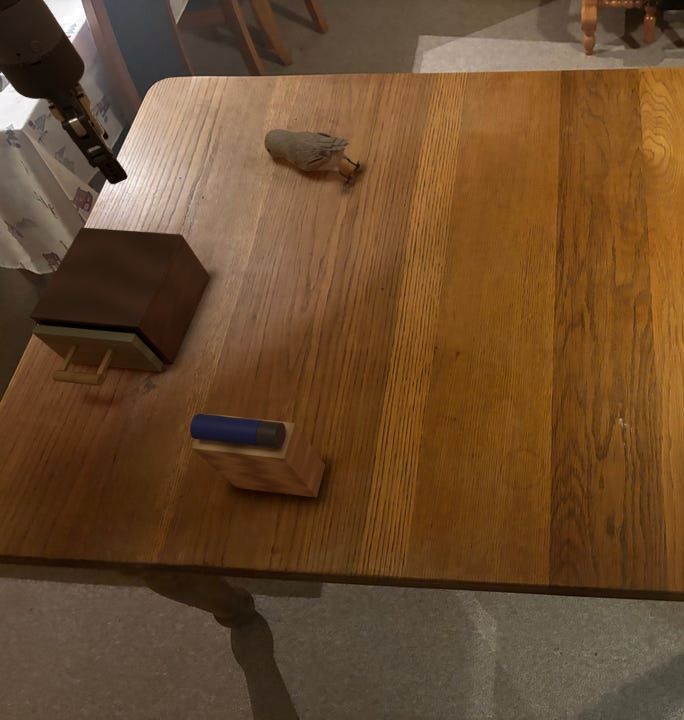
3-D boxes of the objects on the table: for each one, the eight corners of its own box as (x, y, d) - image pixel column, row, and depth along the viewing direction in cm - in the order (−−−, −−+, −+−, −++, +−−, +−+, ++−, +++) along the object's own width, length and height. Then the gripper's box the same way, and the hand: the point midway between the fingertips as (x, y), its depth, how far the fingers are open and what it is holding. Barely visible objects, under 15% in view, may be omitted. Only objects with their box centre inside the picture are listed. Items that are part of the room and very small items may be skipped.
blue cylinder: (198, 442, 68) (186, 433, 66) (206, 419, 69) (195, 409, 67) (281, 452, 67) (272, 443, 64) (288, 428, 68) (279, 418, 66)
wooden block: (236, 487, 78) (191, 448, 68) (246, 456, 80) (204, 413, 70) (316, 497, 77) (283, 458, 66) (325, 465, 79) (294, 422, 68)
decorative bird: (281, 146, 108) (265, 107, 101) (367, 168, 104) (357, 130, 97) (264, 168, 105) (246, 130, 99) (351, 192, 101) (339, 154, 95)
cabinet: (172, 364, 87) (137, 326, 80) (72, 354, 89) (28, 316, 81) (210, 276, 95) (181, 234, 87) (117, 269, 96) (80, 227, 89)
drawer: (145, 405, 83) (114, 377, 77) (49, 394, 85) (11, 366, 79) (197, 288, 93) (172, 254, 86) (109, 281, 94) (79, 247, 88)
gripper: (-26, 18, 70) (66, 140, 84) (-1, 89, 63) (95, 208, 77) (44, -7, 72) (123, 116, 86) (76, 59, 65) (156, 181, 79)
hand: (110, 159), depth 81 cm, fingers open, 8 cm apart
